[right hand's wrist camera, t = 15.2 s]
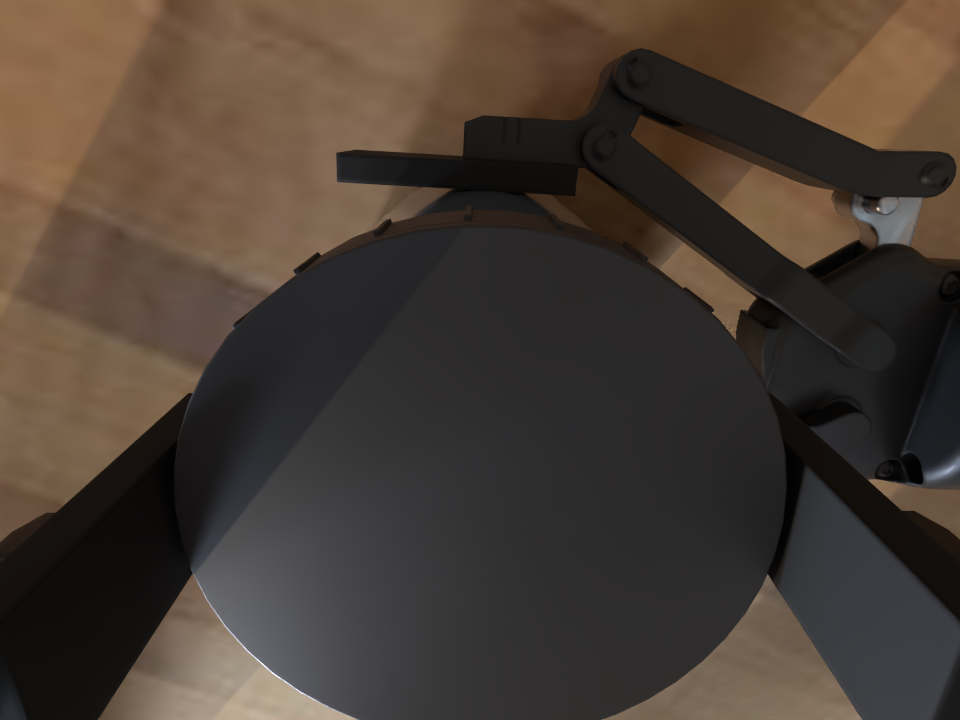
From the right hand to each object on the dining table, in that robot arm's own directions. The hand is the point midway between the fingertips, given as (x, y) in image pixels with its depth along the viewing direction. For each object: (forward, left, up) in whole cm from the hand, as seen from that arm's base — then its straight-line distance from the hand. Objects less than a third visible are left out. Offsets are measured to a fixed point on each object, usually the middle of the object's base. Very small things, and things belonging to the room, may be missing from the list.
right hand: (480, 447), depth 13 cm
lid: (0, 0, +3) cm, 3 cm away
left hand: (-3, +3, -6) cm, 8 cm away
